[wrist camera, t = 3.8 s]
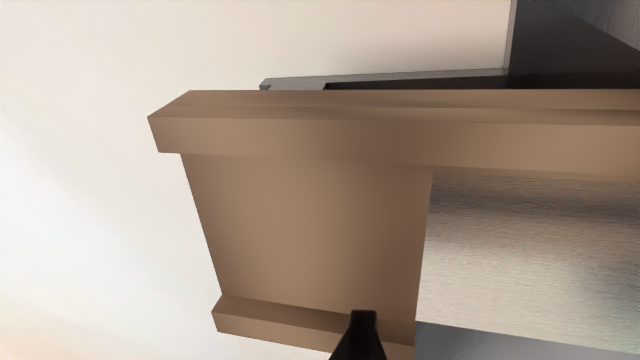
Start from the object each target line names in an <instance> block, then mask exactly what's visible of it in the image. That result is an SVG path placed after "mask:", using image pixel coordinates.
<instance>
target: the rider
mask: <svg viewBox="0 0 640 360" xmlns="http://www.w3.org/2000/svg"><path fill="white" fill-rule="evenodd" d="M415 360H640V183H629V182H609V181H589V180H569V179H549V178H529V177H509V176H489V175H469V174H449V173H433V177H432V185H431V193H430V202H429V210H428V218H427V227H426V235H425V243H424V252H423V260H422V268H421V277H420V285H419V293H418V302H417V310H416V318H415Z"/></svg>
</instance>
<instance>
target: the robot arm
mask: <svg viewBox="0 0 640 360" xmlns="http://www.w3.org/2000/svg"><path fill="white" fill-rule="evenodd" d="M329 360H388V359H387V356H386V354H385V351H384V348H383V346H382V343H381V340H380V338H379V333H378V319H377V312H376V311H375V310H362V309H353V310H351V312H350V317H349V324H348V327H347V329H346V331H345V332H344V334H343V336H342V337H341V339H340V341H339V343H338V344H337V346H336V348H335V350H334V351H333V353H332V355H331V356H330V358H329Z"/></svg>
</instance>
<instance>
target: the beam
mask: <svg viewBox="0 0 640 360" xmlns="http://www.w3.org/2000/svg"><path fill="white" fill-rule="evenodd" d="M147 118H148V121H149V124H150V127H151V130H152V133H153V137H154V140H155V143H156V146H157V149H158V152H161V153H180V155H181V159H182V162H183V165H184V168H185V172H186V175H187V178H188V182H189V185H190V188H191V192H192V195H193V198H194V202H195V205H196V208H197V212H198V215H199V218H200V222H201V225H202V228H203V232H204V235H205V238H206V242H207V245H208V248H209V252H210V255H211V258H212V262H213V265H214V268H215V272H216V275H217V278H218V282H219V285H220V288H221V292H222V296H221V297H220V299H219V300H218V302H217V303H216V305H215V306H214V308H213V310H212V311H211V313H212V316H213V319H214V322H215V325H216V328H217V331H218V332H221V333H227V334H232V335H237V336H243V337H248V338H253V339H259V340H264V341H269V342H275V343H280V344H285V345H291V346H296V347H301V348H307V349H312V350H317V351H323V352H328V353H333V351H334V350H335V348H336V346H337V344H338V343H339V341H340V339H341V337H342V336H343V334H344V332H345V331H346V329H347V327H348V324H349V317H350V312H351V310H353V309H362V310H375V311H376V312H377V319H378V333H379V338H380V340H381V343H382V346H383V348H384V351H385V354H386V356H387V359H388V360H415V318H416V310H417V302H418V293H419V285H420V277H421V268H422V260H423V252H424V243H425V235H426V227H427V218H428V210H429V202H430V193H431V185H432V177H433V173H449V174H469V175H489V176H509V177H529V178H549V179H569V180H589V181H609V182H629V183H640V89H485V90H189V91H188V92H186V93H185V94H183V95H181V96H180V97H178V98H177V99H175V100H173V101H172V102H170V103H169V104H167V105H165V106H164V107H162V108H161V109H159V110H157V111H156V112H154V113H153V114H151V115H149V116H148V117H147Z"/></svg>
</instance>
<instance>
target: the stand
mask: <svg viewBox="0 0 640 360" xmlns="http://www.w3.org/2000/svg"><path fill="white" fill-rule="evenodd" d="M259 87H260V90H485V89H640V0H511V7H510V15H509V23H508V32H507V40H506V48H505V56H504V64H503V68H492V69H470V70H447V71H425V72H403V73H381V74H358V75H336V76H314V77H292V78H269V79H265V80H264V81H263V82H262V83H261V84H260V85H259Z"/></svg>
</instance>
